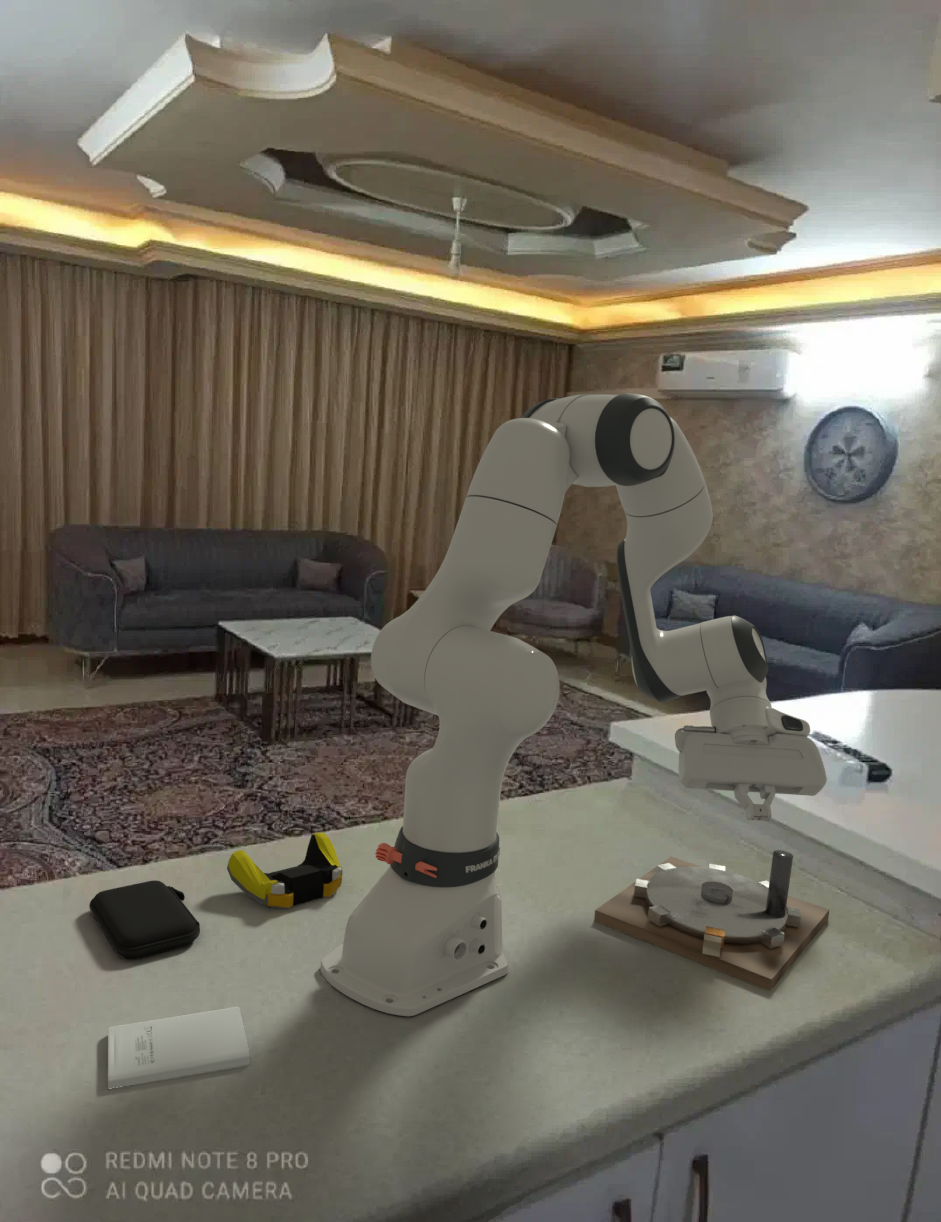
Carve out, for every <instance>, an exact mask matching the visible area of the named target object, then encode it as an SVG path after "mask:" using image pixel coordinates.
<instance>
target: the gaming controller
mask: <svg viewBox="0 0 941 1222" xmlns="http://www.w3.org/2000/svg"><path fill="white" fill-rule="evenodd" d="M227 862H228V863H227V866H226V869H227V872H228V875H229V877H230V879H231V881H232V882H233V884H235V885H236V886H237V887H238V888H239V889H240V890H241V891H242V892H243V893H244V895H246V896H247V897H249V898H251V899H253V901H255V902H257V903H259V904H261V905H262V906H263V907H266V908H281V909H283V908H287V909H291V908H292V907H295V906H298V905H302V904H305V903H310V902H311V901H316V900H319V899H323V898H329V897H331V896H332V895H334V894H335V892H336V891H337V890H339V889H340V888H341V886H342V882H343V867H342V865H341V864H340V861H339V858H338V854H337V851H336V848H335V845H334V844H333V842H332V840H331V839H330V837H329V836H328V835H327V834H325V832H315V833H312V834H311V835H310V839H309V842H308V845H307V849H306V853H305V857H304V859H303V861H302V862H301V863H300V864H298V865H296V866H292V867H288V868H284V869H281V870H276V871H272V872H268V873H267V872H264V871H262V869H261V868H259V866H258V865H257V864H256V863H255V862H254V861H253V860H252V858H251V856H249V855H248V853H247V852H246V851H245V850H242V849H240V850H236V851H234V852H232V853H231V855H230V857H229V858H228V861H227Z"/></svg>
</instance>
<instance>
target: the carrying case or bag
mask: <svg viewBox="0 0 941 1222" xmlns="http://www.w3.org/2000/svg"><path fill="white" fill-rule="evenodd" d="M185 897H186V896H185V894H184V892H183V891H180V890H178V889H176V888H175V887H173V886H171V885H166V884H165V883H164V882H162V881H160V880H148V881H144V882H137V883H134V884H129V885H124V886H120V887H114V888H110V889H105V890H102V891H100V892H98V893H97V894H95V896H94V897H93V898H92V899H91V900H90V902H89V910H90V912H91V914H92V916H93V917H94V919H95V921H96V922H97V924H98V926H99V927H100V929H101V931H102V933H103V934H104V936H105V937H106V938H107V940H108V942H109V944H110V945H111V948H112V949H113V950H114V952H115V953H116V954H117V955H119V956H120V957H121V958H122V959H123V960H127V961H130V960H132V961H133V960H138V959H141V958H145V957H150V956H153V955H157V954H161V953H164V952H169V951H172V950H175V949H176V950H177V949H180V948H185V947H187V946H190V945H192V944H193V943H194V941H195V940H196V939H198V937H199V935H200V933H201V927H200V925H201V924H200V922H199V921H198V920H197V918H196V917H195V916H194V915H193V913H192V912H191V911H190V910H189V909H188V907H187V906H186V905H185V904H184V902H183V901H184V900H185Z"/></svg>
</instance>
